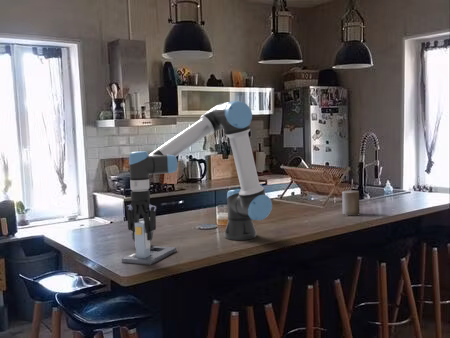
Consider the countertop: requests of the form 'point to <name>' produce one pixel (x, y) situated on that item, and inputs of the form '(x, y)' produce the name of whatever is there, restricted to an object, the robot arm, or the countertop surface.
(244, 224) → the robot arm
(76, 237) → the countertop surface
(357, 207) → the pillar candle
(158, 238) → the countertop surface
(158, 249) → the port panel
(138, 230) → the plug
